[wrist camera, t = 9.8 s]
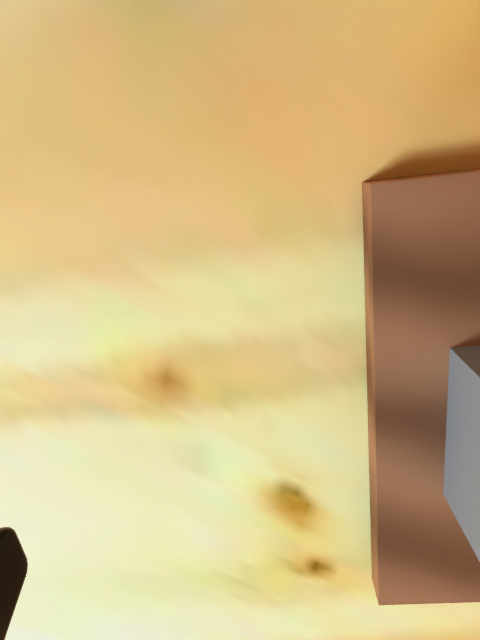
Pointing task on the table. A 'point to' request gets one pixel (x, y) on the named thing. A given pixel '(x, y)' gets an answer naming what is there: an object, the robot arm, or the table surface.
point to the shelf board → (418, 377)
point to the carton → (464, 442)
